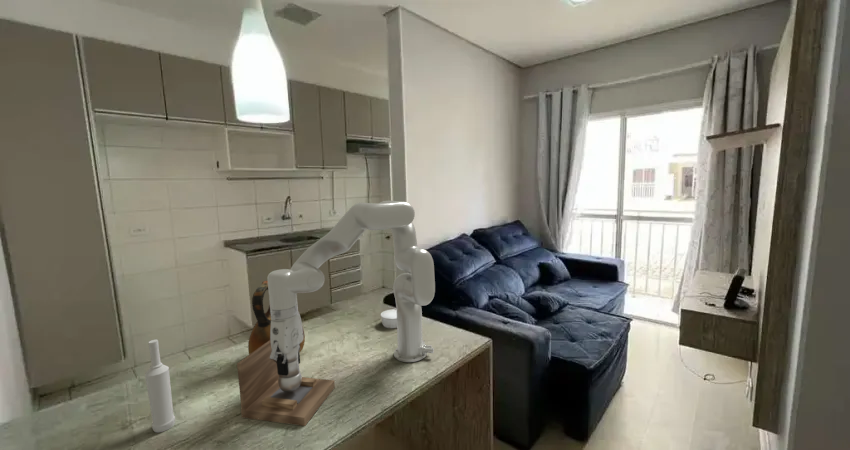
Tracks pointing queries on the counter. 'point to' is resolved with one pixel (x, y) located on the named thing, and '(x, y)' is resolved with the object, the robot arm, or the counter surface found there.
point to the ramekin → (389, 318)
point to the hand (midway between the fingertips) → (289, 368)
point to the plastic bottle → (291, 370)
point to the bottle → (159, 391)
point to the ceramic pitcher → (262, 321)
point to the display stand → (277, 391)
